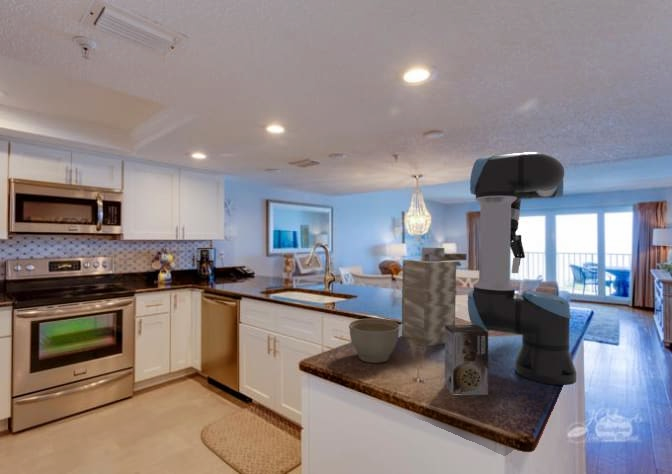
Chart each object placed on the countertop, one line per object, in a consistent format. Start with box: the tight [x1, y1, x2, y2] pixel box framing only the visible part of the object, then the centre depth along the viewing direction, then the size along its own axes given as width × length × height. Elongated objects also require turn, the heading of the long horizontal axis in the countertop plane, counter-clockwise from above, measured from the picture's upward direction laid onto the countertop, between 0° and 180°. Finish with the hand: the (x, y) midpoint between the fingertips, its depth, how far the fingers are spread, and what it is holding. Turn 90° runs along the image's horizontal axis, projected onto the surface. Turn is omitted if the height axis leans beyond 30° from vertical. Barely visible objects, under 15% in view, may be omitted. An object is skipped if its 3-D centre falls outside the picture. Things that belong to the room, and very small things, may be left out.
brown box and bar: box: [421, 246, 468, 261], centre depth 137 cm, size 20×6×5 cm, turn 118°
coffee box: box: [444, 324, 489, 396], centre depth 89 cm, size 9×6×16 cm
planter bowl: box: [348, 318, 401, 364], centre depth 111 cm, size 16×16×11 cm
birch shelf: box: [401, 258, 461, 347], centre depth 133 cm, size 16×14×30 cm
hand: (502, 269), depth 142 cm, fingers open, 13 cm apart
